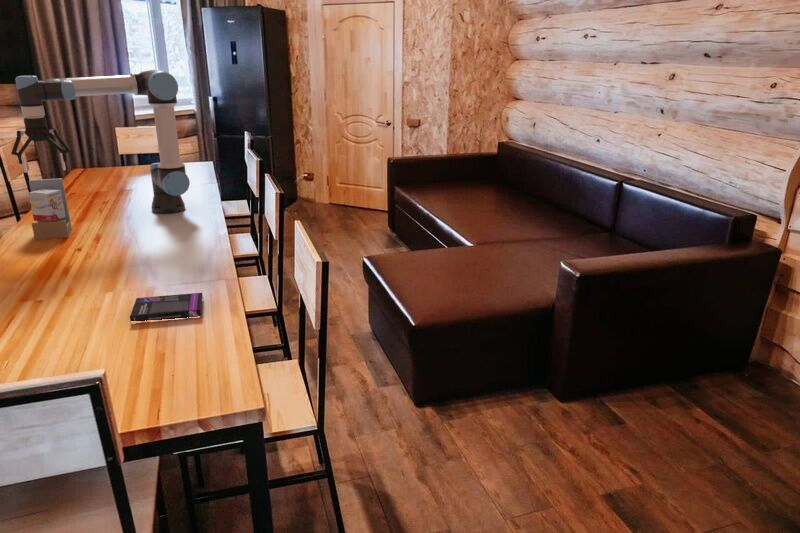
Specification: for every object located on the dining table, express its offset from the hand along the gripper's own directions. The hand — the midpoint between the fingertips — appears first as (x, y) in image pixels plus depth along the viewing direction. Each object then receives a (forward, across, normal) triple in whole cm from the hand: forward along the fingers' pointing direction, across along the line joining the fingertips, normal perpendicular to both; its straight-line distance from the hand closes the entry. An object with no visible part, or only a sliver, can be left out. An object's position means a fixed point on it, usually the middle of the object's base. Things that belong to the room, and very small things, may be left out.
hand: (45, 170), depth 234 cm
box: (+27, -38, +98) cm, 108 cm away
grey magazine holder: (+26, +2, +1) cm, 26 cm away
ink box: (+20, +2, +2) cm, 20 cm away
